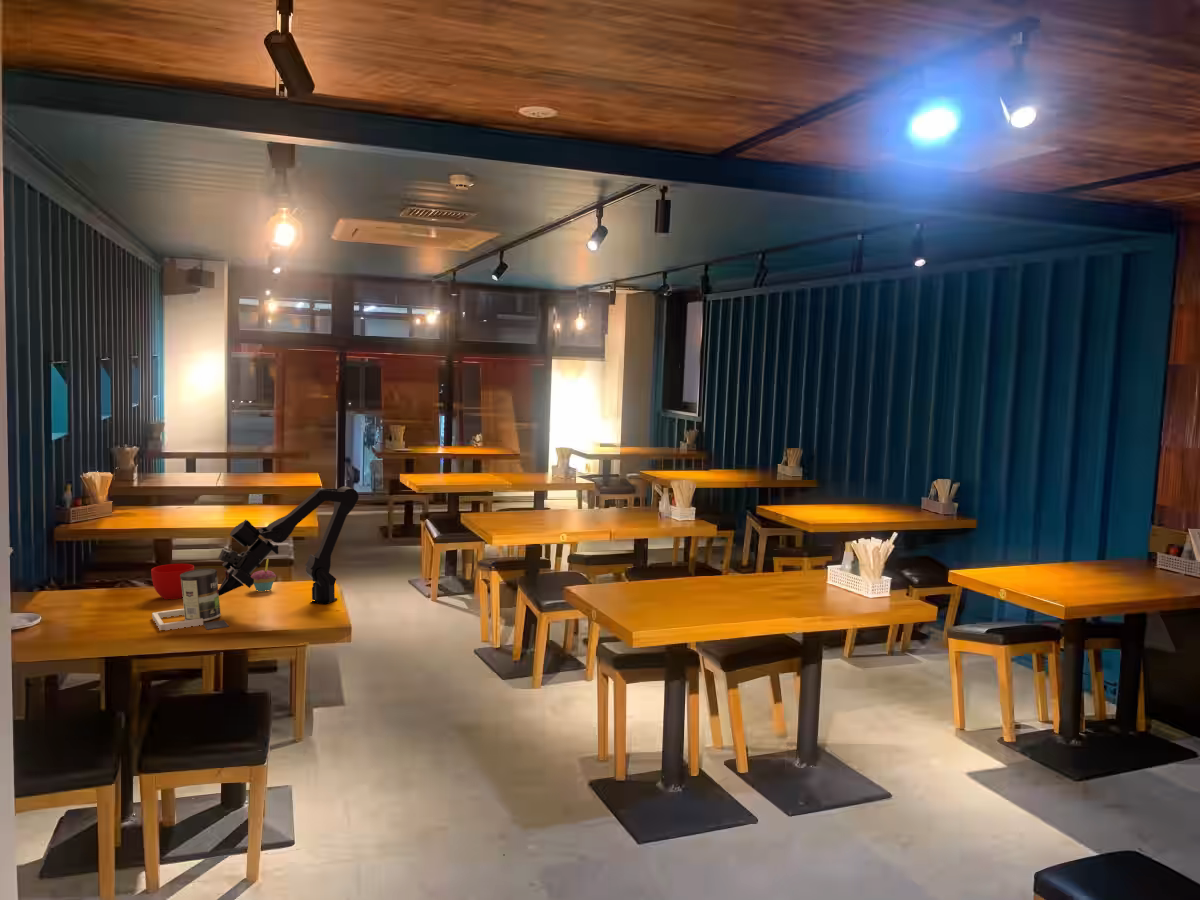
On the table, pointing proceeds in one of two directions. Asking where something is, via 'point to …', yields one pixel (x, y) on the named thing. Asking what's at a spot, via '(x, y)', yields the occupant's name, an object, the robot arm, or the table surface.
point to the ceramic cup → (169, 579)
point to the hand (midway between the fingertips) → (217, 594)
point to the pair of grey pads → (215, 624)
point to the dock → (174, 625)
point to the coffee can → (200, 594)
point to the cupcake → (263, 579)
